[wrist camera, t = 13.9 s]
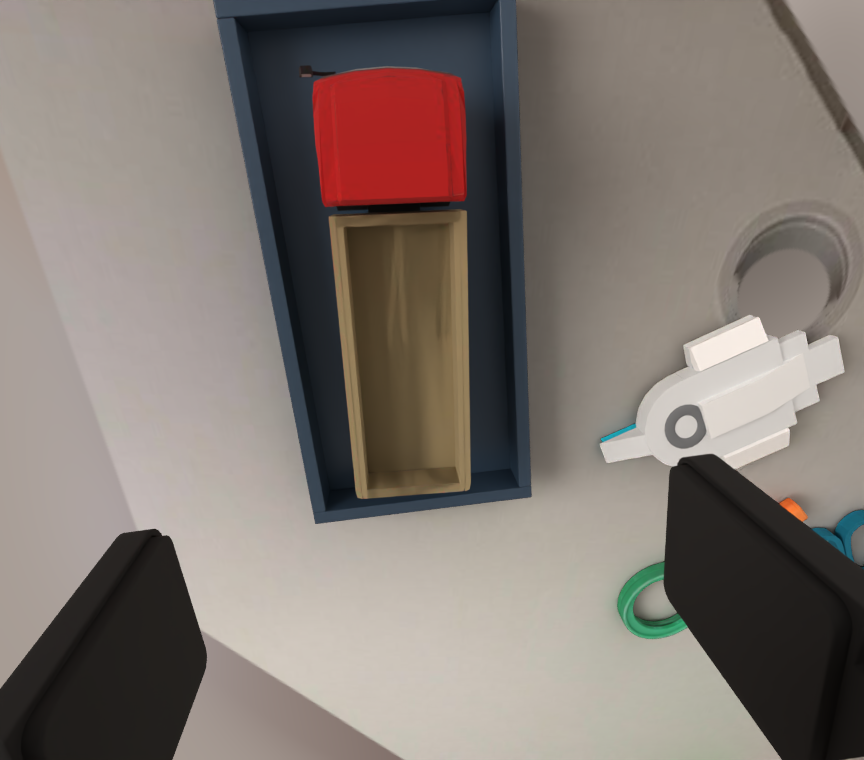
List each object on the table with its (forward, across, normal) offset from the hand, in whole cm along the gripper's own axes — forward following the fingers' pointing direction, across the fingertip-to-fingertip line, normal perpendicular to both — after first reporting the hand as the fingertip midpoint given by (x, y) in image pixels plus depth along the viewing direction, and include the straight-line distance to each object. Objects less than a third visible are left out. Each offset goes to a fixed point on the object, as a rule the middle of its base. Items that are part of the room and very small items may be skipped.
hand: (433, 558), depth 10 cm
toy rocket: (+24, -20, +8) cm, 32 cm away
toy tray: (+23, 0, -2) cm, 23 cm away
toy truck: (+23, 0, -2) cm, 23 cm away
